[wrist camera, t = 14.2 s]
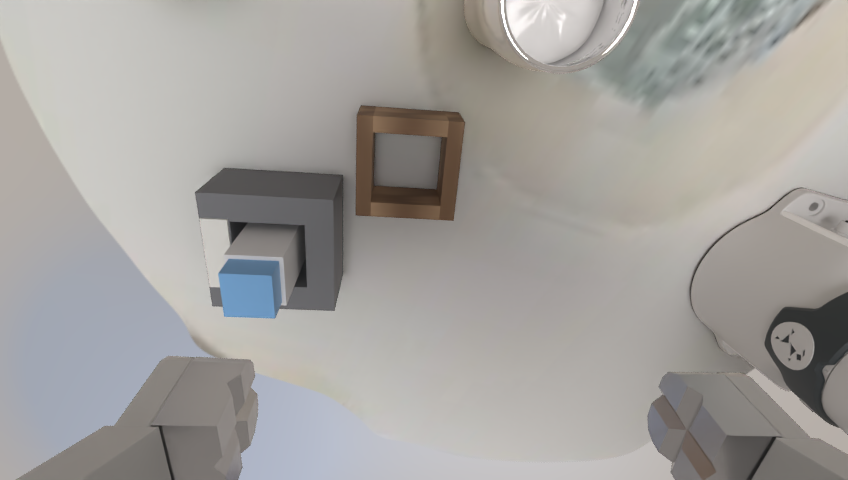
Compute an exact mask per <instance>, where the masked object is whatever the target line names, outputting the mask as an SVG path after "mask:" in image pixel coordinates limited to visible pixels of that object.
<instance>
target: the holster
mask: <svg viewBox="0 0 848 480" xmlns="http://www.w3.org/2000/svg"><path fill="white" fill-rule="evenodd" d="M464 126H465V122H464V120H463V119H462V117H461V115H460V114H459V112H445V111H431V110H417V109H403V108H389V107H376V106H362V105H361V107H360V109H359V111H358V113H357V147H356V215H358V216H377V217H396V218H415V219H433V220H452V221H454V212H455V203H456V195H457V186H458V178H459V169H460V160H461V152H462V143H463V134H464ZM375 132H376V133H391V134H405V135H420V136H435V137H442V141H441V151H440V162H439V172H438V183H437V189H420V188H403V187H386V186H374V158H375Z"/></svg>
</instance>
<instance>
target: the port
mask: <svg viewBox="0 0 848 480" xmlns="http://www.w3.org/2000/svg"><path fill="white" fill-rule="evenodd" d="M195 195H196V201H197V208H198V214H199V221H200V228H201V234H202V241H203V247H204V254H205V260H206V267H207V273H208V280H209V286H210V293H211V300H212V306H220V307H223V305H222V297H221V290H220V283H219V276H218V273H219V271H220V270H221V269H222V267H223V266H224V265H225V261H224V254H225V252H226V251H227V250H228V248H229V247H230V246H231V244H232V243H233V242H234V240H235V239H236V238H237V236H238V235H239V234H240V233H241V231H242V230H243V229H244V227H245V226H246V225H247V223H248V222H249V223H269V224H288V225H305V247H306V258H305V261H304V263H303V266H302V268H301V271H300V273H299V276H298V278H297V281H296V283H295V286H294V288H293V291H292V293H291V296H290V298H289V301H288V303H287V305H286V306H284V305H281V306H280V308H279V309H300V310H327V311H335V307H336V302H337V298H338V293H339V289H340V285H341V280H342V276H343V175H331V174H314V173H297V172H281V171H264V170H247V169H231V168H224V169H222V170H221V171H220V172H219V173H218V174H216V175H215V176H214V177H213V178H212V179H210V180H209V181H208V182H207V183H206V184H205V185H203V186H202V187H201V188H200V189H199V190H197V191H196V192H195Z"/></svg>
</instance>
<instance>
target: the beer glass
mask: <svg viewBox="0 0 848 480" xmlns="http://www.w3.org/2000/svg"><path fill="white" fill-rule="evenodd" d="M639 3H640V0H464V18H465V22H466V25H467V27H468V29H469V31H470V33H471V34H472V36H473V37H474V38H475V39H476V40H477V41H478V42H479V43H480V44H482V45H483V46H485V47H487V48H490V49H493V50H494V51H495V52H496V53H497V54H498V55H499V56H500V57H502V58H503V59H505V60H506V61H508V62H510V63H512V64H514V65H516V66H518V67H521V68H525V69H528V70H533V71H541V72H549V73H557V74H564V73H572V72H577V71H580V70H583V69H586V68H588V67H590V66H592V65H594V64H596V63H598V62H599V61H601V60H602V59H603V58H605V57H606V56H607V55H608V54H610V53H611V52H612V51H613V50H614V49H615V48H616V47H617V46H618V44H619V43H620V42H621V41H622V39H623V38H624V37H625V35H626V34H627V32H628V30H629V29H630V27H631V25H632V23H633V21H634V18H635V16H636V13H637V10H638V7H639Z"/></svg>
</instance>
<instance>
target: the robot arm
mask: <svg viewBox="0 0 848 480" xmlns="http://www.w3.org/2000/svg"><path fill="white" fill-rule="evenodd" d="M810 205H811V206H810ZM809 206H810V207H809ZM691 302H692V306H693V309H694V312H695V314H696V315H697V317H698V318H699V319H700V321H701V322H702V323H703V324H705V325H706V326H707V327H708V328H710V329H711V330H712V331H713V332H714V333H715V337H716V340H717V343H718V345H719V347H720V348H721V349H722V350H723V351H725V352H726V353H727V354H729V355H740V356H741V357H742V358H744V359H745V360H746V361H747V362H749V363H750V364H751V365H752V366H753V367H755V368H756V369H757V370H758V371H760V372H761V373H762V374H764V376H766V377H767V378H768V379H769V380H771V381H772V382H773V383H775V384H776V385H777V386H778V387H780V388H781V389H783V390H785V391H792V392H794V394H796V395H797V396H798V397H799V398H800V401H801V402H802V403H803V404H804V405H806V406H807V407H808V408H809V409H810V410H811V411H812V412H815V413H816V414H817V415H819V416H820V417H821V418H822V419H823V420H825V421H826V422H828V423H829V424H831V425H833V426H836V427H839V428H841V429H842V430H843V431H844V432H845V433H847V435H848V201H847V200H843V199H840V198H836V197H833V196H829V195H826V194H823V193H819V192H816V191H812V190H809V189H804V188H800V189H796V190H794V191H792V192H791V193H789V194H788V195H787V196H785V197H784V198H783V199H782V200H780V201H779V202H778V203H777V204H776V205H775V206H774V207H772V208H771V209H770V210H769V211H767V212H766V213H764V214H762V215H760V216H758V217H756V218H753V219H751V220H749V221H747V222H745V223H743V224H741V225H740V226H738V227H736V228H735V229H733V230H732V231H730V232H729V233H728V234H726V235H725V236H724V237H723V238H722V239H720V240H719V241H718V242H717V243H716V244H715V245H714V246H713V247H712V248H711V250H710V251H709V252H708V253H707V255H706V256H705V257H704V259H703V260H702V262H701V263H700V265H699V267H698V269H697V271H696V273H695V276H694V279H693V283H692V288H691ZM254 378H255V371H254V364H253V362H252V361H251V360H247V359H228V358H208V357H179V356H167V357H166V358H164V359H162V360H161V361H160V362H159V364H158V365H157V367H156V368H155V369H154V371H153V372H152V374H151V375H150V376H149V378H148V379H147V380H146V382H145V383H144V385H143V386H142V387H141V389H140V390H139V392H138V393H137V394H136V396H135V397H134V399H133V400H132V402H131V403H130V404H129V406H128V407H127V409H126V410H125V411H124V413H123V414H122V416H121V417H120V419H119V420H118V421H117V423H116V424H115V425H114V426H104V427H102V428H101V429H99V430H98V431H96V432H94V433H92V434H91V435H89V436H87V437H86V438H84V439H82V440H81V441H79V442H77V443H76V444H74V445H72V446H71V447H69V448H68V449H66V450H64V451H62V452H61V453H59V454H58V455H56V456H54V457H53V458H51V459H49V460H48V461H46V462H44V463H43V464H41V465H39V466H38V467H36V468H34V469H33V470H31V471H30V472H28V473H26V474H24V475H23V476H21V477H20V478H18V479H16V480H238V478H239V475H240V473H241V470H242V461H241V453H242V452H243V451H244V450H246V449H247V448H248V447H249V446H250V445H251V441H252V439H253V435H254V433H255V428H256V422H257V417H258V397H257V393H256V392H255V391H254V390H253V389H252V388H251V385H252V383H253V380H254ZM659 389H660V391H661V393H662V396H661V397H659V398H658V399H657V400H655V401H654V402H653V403H652V404H651V407H650V410H649V413H648V430H649V433H650V436H651V439H652V441H653V443H654V445H655V446H656V448H657V450H658V452H659V453H661V454H662V455H663V456H665V457H666V458H667V459H669V460H670V461H672V466H671V473H672V475H673V477H674V479H675V480H848V454H846V453H844V452H842V451H840V450H839V449H837V448H835V447H833V446H832V445H830V444H828V443H826V442H824V441H823V440H821V439H815V438H810V437H809V436H808V435H807V434H806V433H805V432H804V431H803V430H802V429H801V428H800V426H799V425H798V424H796V422H794V420H793V419H792V418H790V416H789V415H788V414H787V413H786V412H785V411H784V410H783V409H782V408H781V407H780V406H779V405H778V404H777V403H776V402H775V401H774V400H773V399H772V398H771V397H770V396H769V395H768V394H767V393H766V392H765V391H764V390H763V389H762V388H761V387H760V386H759V385H758V384H757V383H756V382H755V381H754V380H753V379H752V378H751V377H749V376H747V375H745V374H743V373H720V372H718V373H699V372H668V373H667V374H666V375H664V376H663V377H662V380H661V382H660V384H659Z"/></svg>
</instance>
